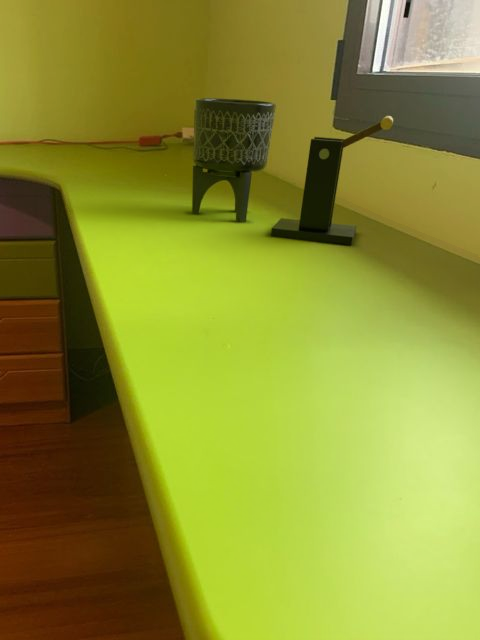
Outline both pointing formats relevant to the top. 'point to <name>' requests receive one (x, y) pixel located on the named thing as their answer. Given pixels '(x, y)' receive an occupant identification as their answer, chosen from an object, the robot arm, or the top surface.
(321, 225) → the bracket
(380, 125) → the lever
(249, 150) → the planter
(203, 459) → the top surface
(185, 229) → the top surface
